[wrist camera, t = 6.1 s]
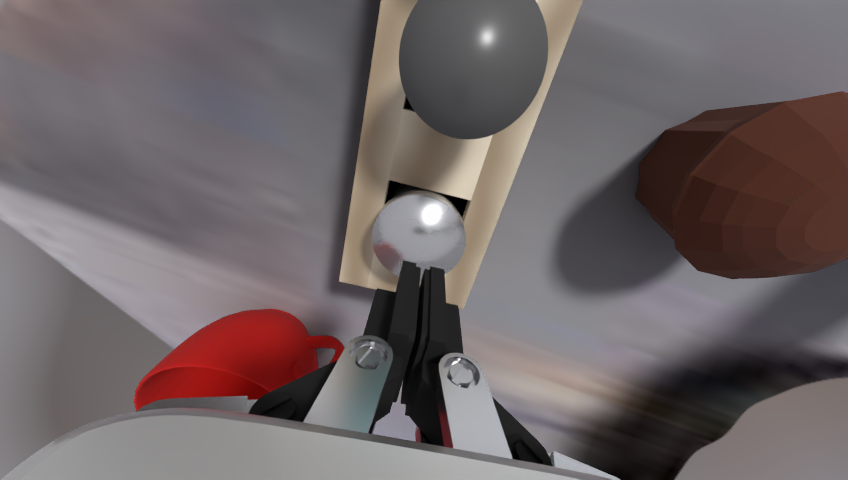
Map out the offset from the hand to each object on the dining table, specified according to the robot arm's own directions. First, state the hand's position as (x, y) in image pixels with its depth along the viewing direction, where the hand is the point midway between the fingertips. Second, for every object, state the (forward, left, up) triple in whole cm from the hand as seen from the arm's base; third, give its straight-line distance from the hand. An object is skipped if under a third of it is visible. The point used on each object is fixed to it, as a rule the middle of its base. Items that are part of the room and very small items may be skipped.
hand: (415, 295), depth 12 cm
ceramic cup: (+10, +18, -15) cm, 26 cm away
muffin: (-20, -7, -15) cm, 26 cm away
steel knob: (0, +1, -15) cm, 15 cm away
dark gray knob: (0, -9, -12) cm, 14 cm away
